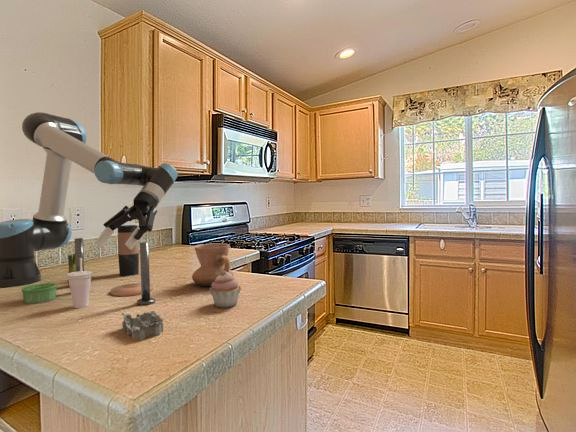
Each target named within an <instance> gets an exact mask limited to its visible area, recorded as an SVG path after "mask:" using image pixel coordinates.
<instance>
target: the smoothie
mask: <svg viewBox="0 0 576 432" xmlns="http://www.w3.org/2000/svg"><path fill="white" fill-rule="evenodd" d="M92 276H93V271H90V270H84V271H82V258H80V271H78V272H72V273H69V274H68V273H67V274H66V279H67V281H68V280H69V283H68V285H69V290H70V295H71V301H72V305H73V308H74V309H82V307H83V308H86V307H88V306H89V300H90V291H91V281H92Z"/></svg>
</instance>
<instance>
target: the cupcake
mask: <svg viewBox="0 0 576 432" xmlns="http://www.w3.org/2000/svg"><path fill="white" fill-rule="evenodd" d="M241 291H242V286H239V281H238V279H236V278H235V277H234V275H233V276H232V274H230V273H228V272H226V271H224V272H223V274H222V275H220V276H218V277H217V278H216V279H215V281H214V282H213V283H212V285H211V286H210V287H209V291H208V292H209V293H210V294H211V296H212V300H213V303H214V306H215V307H217V308H225V309H226V308H232V307H235V306H236V305H237V304H238V301H239V295H240V292H241Z"/></svg>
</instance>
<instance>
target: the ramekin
mask: <svg viewBox="0 0 576 432" xmlns="http://www.w3.org/2000/svg"><path fill="white" fill-rule="evenodd" d="M57 286H58V283H55V282H42V283H34V284H30V285H26V286H23V287H22V288H21V293H22V297H23V303H25V304H29V305H30V304H33V305H34V304H41V303H47V302H50V301H53V300H55V299H56V297H57Z"/></svg>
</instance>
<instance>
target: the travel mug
mask: <svg viewBox="0 0 576 432" xmlns="http://www.w3.org/2000/svg"><path fill="white" fill-rule="evenodd" d="M138 226H139V225H136V224H131V225H130V224H128V225H124V224H123V225H121V226H120V227H118V228H117V253H118V254H117V256H118V267H119V276H121V277H129V276H130V277H131V275H132V276H136V275H138V274H139V272H140V270H139V269H140V267H139V265H140V259H139V258H140V247H139V241H138V242H137V243H136V244H135V246H134V247H133V249H132V250H130V249H129V248H128V247H127V246H126V245H125V243H126V242H127V240H128V239H129V238H130V236H131V235H132V233H133V232H134V231H135V229H136V228H138V229H139V227H138Z"/></svg>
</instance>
